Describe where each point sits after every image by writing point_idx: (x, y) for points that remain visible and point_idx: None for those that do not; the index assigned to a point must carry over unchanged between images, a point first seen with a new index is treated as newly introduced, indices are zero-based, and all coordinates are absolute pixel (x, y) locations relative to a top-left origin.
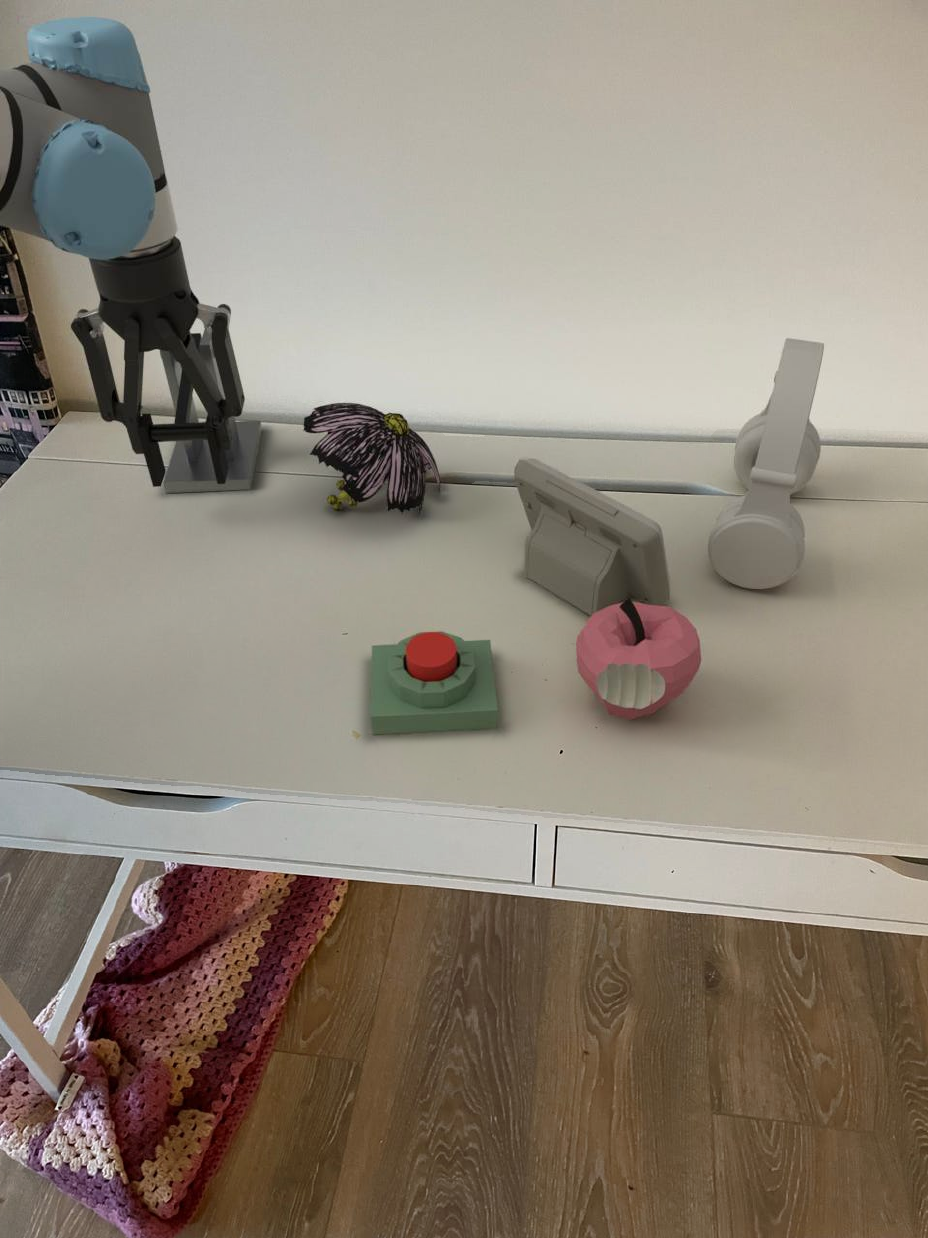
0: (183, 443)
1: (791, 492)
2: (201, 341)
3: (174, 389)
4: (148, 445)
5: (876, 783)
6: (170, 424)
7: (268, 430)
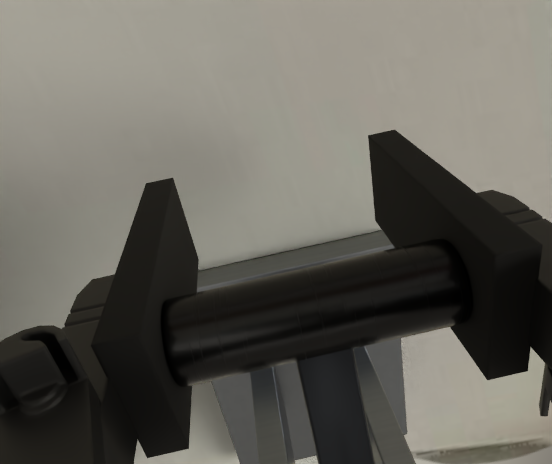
0: (371, 363)
1: None
2: None
3: None
4: (447, 203)
5: None
6: (364, 331)
7: (229, 452)
